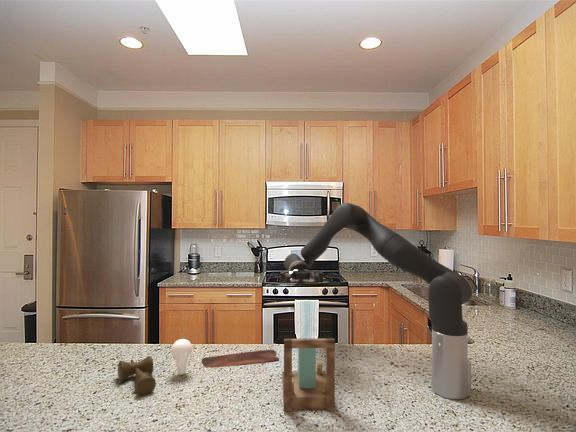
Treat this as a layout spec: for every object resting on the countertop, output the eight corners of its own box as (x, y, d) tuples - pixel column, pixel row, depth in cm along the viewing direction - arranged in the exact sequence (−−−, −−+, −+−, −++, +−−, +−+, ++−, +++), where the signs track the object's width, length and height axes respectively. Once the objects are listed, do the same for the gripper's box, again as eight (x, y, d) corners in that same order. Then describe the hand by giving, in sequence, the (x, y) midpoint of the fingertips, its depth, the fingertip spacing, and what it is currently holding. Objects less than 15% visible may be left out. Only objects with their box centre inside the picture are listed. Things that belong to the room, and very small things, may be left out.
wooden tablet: (201, 366, 111) (201, 351, 120) (201, 372, 111) (201, 357, 121) (280, 359, 117) (274, 345, 127) (280, 365, 117) (274, 351, 127)
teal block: (313, 377, 98) (313, 339, 98) (315, 388, 92) (315, 347, 92) (297, 378, 98) (298, 339, 98) (299, 388, 92) (299, 347, 92)
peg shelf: (325, 380, 103) (325, 321, 103) (334, 410, 87) (334, 340, 87) (282, 381, 102) (282, 321, 103) (283, 411, 86) (284, 340, 86)
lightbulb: (185, 368, 111) (186, 334, 111) (195, 374, 107) (195, 339, 107) (167, 374, 107) (168, 339, 107) (177, 381, 102) (177, 344, 103)
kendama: (127, 402, 91) (114, 373, 107) (164, 393, 97) (146, 366, 113) (128, 380, 91) (115, 354, 108) (165, 372, 97) (147, 348, 113)
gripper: (279, 261, 123) (280, 267, 106) (319, 261, 123) (325, 267, 107) (279, 282, 123) (280, 291, 106) (319, 282, 123) (325, 291, 107)
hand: (303, 279), depth 107 cm, fingers open, 8 cm apart
